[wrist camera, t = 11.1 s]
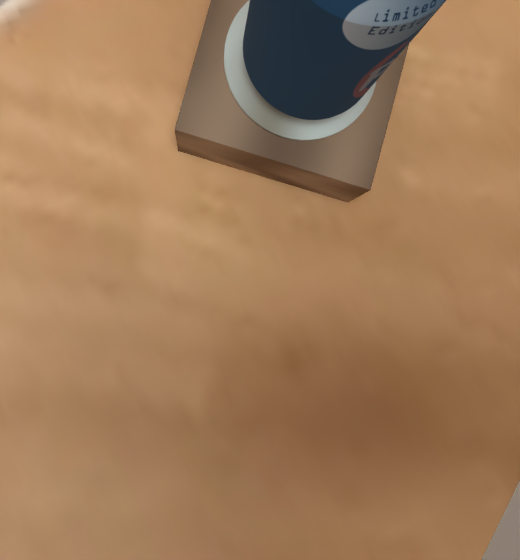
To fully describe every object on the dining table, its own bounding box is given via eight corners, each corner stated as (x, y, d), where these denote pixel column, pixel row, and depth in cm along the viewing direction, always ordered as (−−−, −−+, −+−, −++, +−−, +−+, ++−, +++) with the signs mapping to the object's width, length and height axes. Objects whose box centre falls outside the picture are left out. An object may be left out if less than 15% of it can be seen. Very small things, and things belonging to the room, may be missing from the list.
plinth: (391, 38, 31) (422, -2, 26) (347, 202, 30) (372, 188, 26) (226, -21, 29) (230, -72, 25) (178, 150, 29) (174, 127, 25)
